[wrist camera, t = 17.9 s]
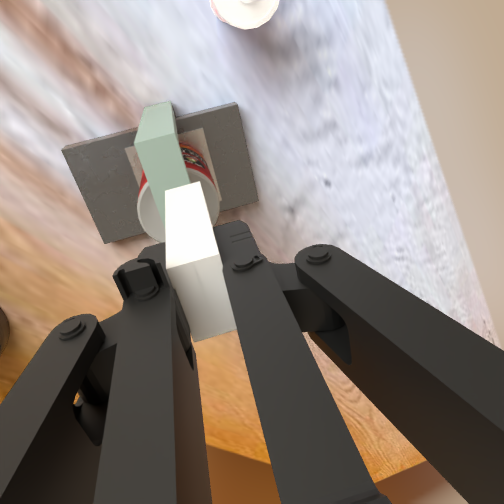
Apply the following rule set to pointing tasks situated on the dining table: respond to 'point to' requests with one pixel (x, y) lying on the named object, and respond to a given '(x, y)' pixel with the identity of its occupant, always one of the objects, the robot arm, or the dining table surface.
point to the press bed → (130, 169)
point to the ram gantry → (160, 152)
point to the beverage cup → (244, 12)
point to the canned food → (196, 173)
